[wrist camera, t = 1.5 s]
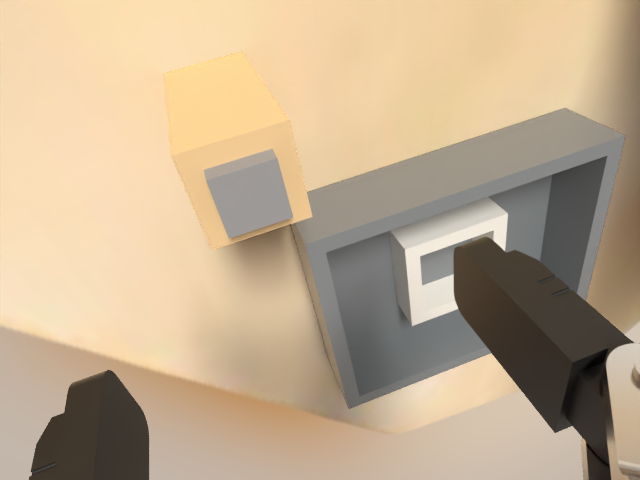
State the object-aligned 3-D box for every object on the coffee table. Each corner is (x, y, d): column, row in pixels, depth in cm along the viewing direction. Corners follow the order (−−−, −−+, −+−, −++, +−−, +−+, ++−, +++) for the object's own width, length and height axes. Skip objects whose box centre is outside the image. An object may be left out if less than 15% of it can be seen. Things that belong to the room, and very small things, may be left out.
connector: (242, 51, 23) (295, 128, 15) (262, 125, 25) (318, 227, 17) (163, 73, 23) (171, 166, 14) (192, 146, 25) (214, 263, 17)
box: (565, 108, 31) (625, 135, 27) (539, 279, 41) (581, 317, 37) (283, 199, 28) (305, 244, 25) (328, 358, 38) (348, 409, 34)
